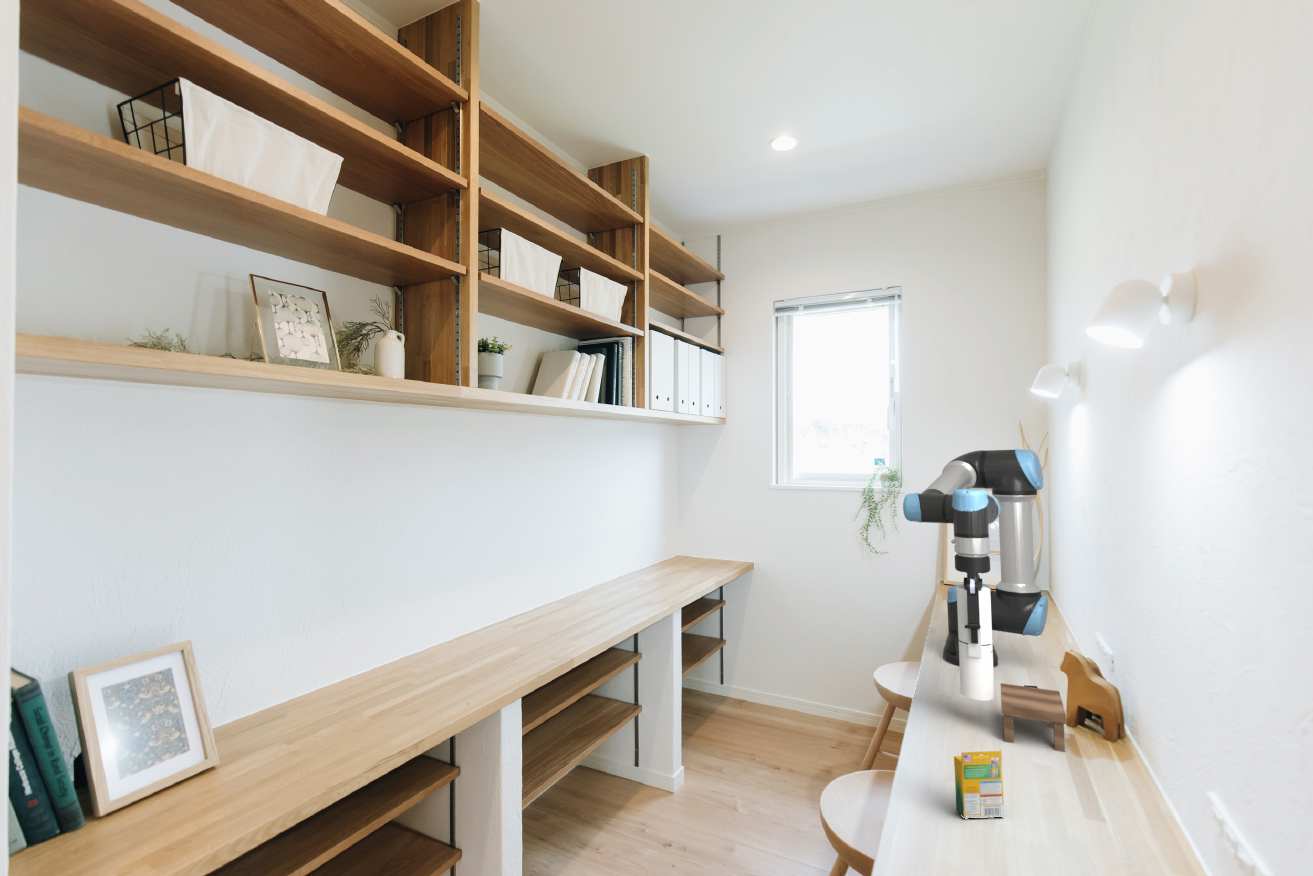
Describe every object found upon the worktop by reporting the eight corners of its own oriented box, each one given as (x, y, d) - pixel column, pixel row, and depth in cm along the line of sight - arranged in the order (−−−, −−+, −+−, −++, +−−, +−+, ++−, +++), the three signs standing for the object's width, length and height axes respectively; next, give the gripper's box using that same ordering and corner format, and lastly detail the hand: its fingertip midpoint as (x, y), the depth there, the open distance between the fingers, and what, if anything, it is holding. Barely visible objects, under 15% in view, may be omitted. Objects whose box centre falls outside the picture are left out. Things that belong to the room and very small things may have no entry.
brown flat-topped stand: (1001, 716, 151) (1000, 683, 152) (1060, 725, 146) (1059, 691, 146) (1002, 741, 138) (1001, 705, 138) (1067, 753, 132) (1065, 714, 133)
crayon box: (995, 809, 112) (992, 743, 112) (1005, 818, 109) (1002, 751, 110) (955, 810, 112) (953, 744, 112) (963, 820, 109) (961, 752, 109)
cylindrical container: (953, 692, 150) (949, 587, 150) (975, 687, 152) (971, 584, 153) (979, 702, 143) (975, 592, 144) (1001, 697, 146) (997, 589, 146)
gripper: (956, 547, 159) (959, 638, 159) (952, 560, 141) (956, 662, 141) (989, 548, 156) (993, 641, 155) (989, 562, 138) (993, 667, 137)
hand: (975, 651), depth 148 cm, fingers closed on cylindrical container, 7 cm apart
